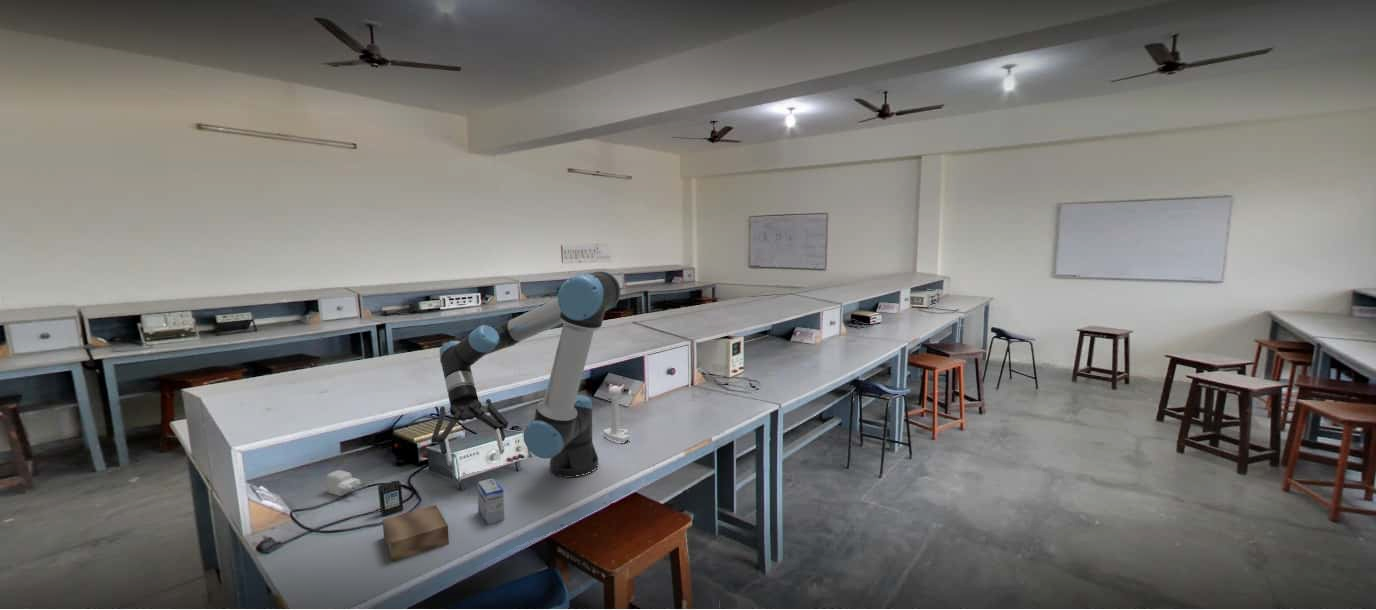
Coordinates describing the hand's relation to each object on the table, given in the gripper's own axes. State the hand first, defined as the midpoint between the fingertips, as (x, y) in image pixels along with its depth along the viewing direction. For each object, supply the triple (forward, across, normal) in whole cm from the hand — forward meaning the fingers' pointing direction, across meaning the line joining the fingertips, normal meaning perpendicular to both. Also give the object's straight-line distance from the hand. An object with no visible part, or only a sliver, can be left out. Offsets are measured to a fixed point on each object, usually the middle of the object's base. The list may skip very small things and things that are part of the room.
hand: (477, 457), depth 145 cm
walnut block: (+17, +17, -2) cm, 24 cm away
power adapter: (-8, +30, -27) cm, 41 cm away
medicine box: (+16, -1, -3) cm, 16 cm away
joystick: (-4, -54, -23) cm, 58 cm away
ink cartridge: (+4, +20, -15) cm, 25 cm away
